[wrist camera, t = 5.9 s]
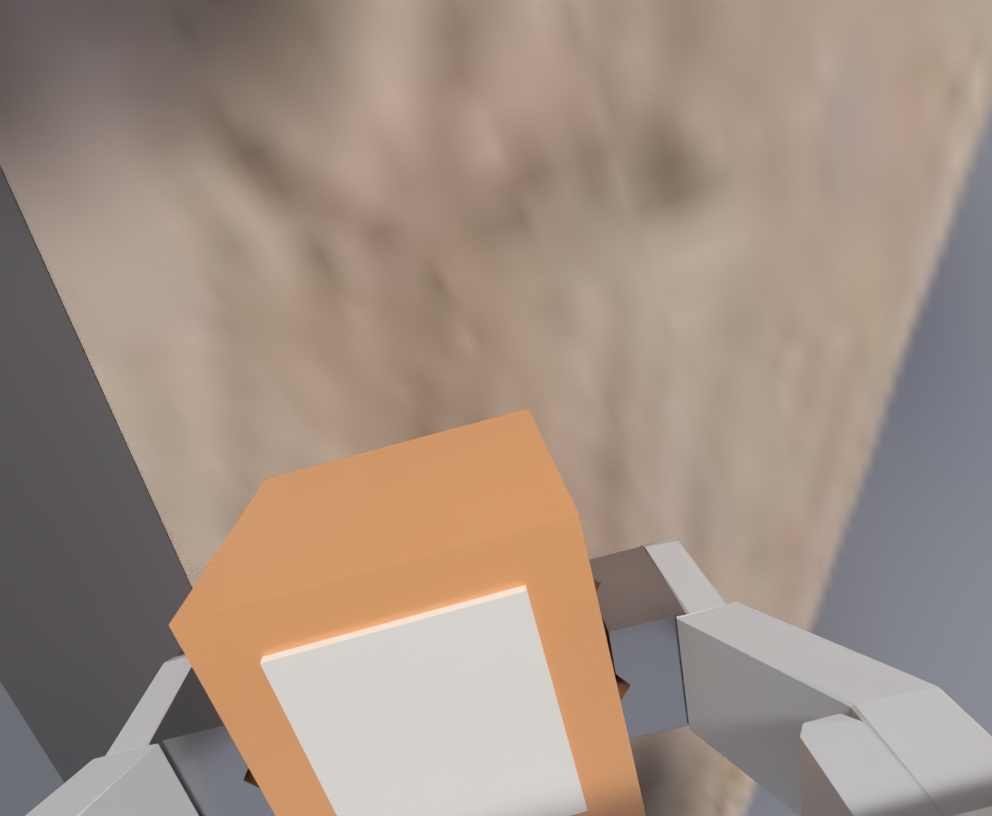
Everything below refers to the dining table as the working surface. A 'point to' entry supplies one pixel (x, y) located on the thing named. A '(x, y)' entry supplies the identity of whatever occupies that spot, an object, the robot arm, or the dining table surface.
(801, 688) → the robot arm
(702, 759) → the dining table surface
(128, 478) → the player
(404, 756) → the block
